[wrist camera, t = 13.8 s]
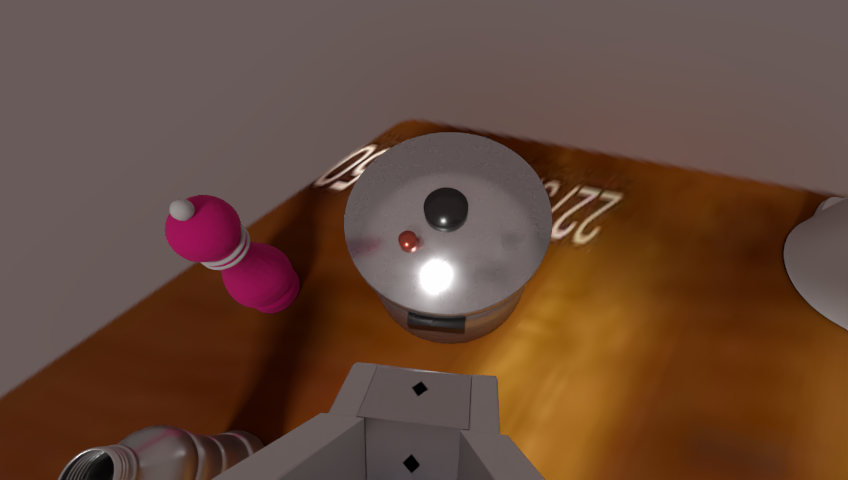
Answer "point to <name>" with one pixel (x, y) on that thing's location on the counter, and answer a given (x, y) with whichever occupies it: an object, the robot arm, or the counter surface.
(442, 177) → the cooker lid
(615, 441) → the counter surface
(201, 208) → the pepper mill
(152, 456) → the silver metal bottle
